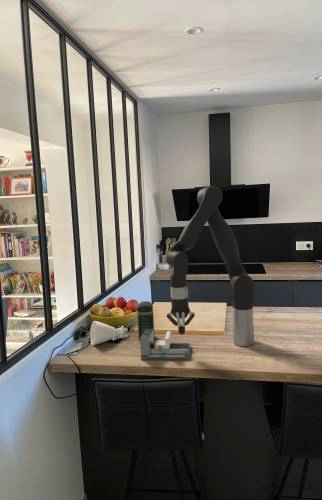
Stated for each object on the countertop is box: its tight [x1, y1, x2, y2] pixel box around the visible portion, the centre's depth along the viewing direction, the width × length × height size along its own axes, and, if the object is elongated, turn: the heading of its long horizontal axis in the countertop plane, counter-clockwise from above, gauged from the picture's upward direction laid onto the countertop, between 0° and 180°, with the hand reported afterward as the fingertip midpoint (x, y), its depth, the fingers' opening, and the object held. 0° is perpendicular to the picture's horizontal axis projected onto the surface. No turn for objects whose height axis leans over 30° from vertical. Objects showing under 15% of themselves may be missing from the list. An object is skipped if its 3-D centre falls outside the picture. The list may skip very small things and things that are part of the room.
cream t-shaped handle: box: [154, 330, 172, 351], centre depth 167 cm, size 7×11×7 cm, turn 172°
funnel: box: [89, 320, 129, 346], centre depth 188 cm, size 12×12×18 cm
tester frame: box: [139, 329, 192, 361], centre depth 168 cm, size 21×14×9 cm, turn 82°
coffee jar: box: [136, 301, 155, 341], centre depth 185 cm, size 10×8×19 cm
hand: (181, 333), depth 166 cm, fingers closed
